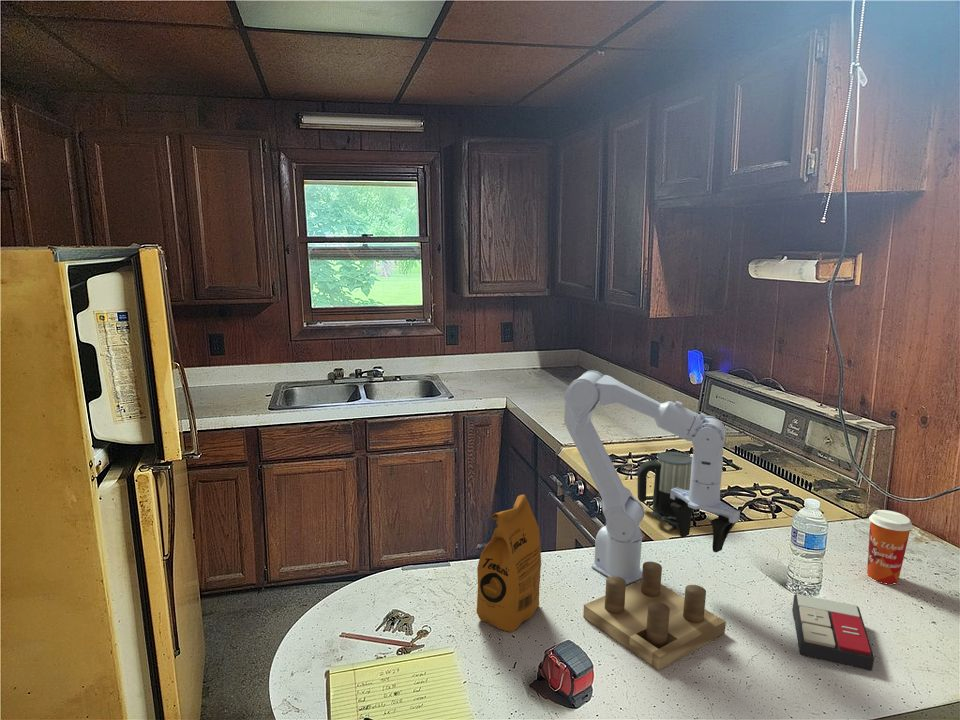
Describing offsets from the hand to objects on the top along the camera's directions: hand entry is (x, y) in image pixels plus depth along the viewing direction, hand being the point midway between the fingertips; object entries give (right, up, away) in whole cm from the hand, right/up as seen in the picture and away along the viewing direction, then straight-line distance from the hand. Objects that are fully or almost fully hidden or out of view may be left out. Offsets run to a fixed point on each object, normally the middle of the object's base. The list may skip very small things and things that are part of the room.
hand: (700, 542), depth 127 cm
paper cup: (+41, -10, +7) cm, 43 cm away
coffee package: (-39, -12, -6) cm, 41 cm away
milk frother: (+5, -4, +35) cm, 36 cm away
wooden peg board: (-12, -12, -10) cm, 20 cm away
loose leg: (-14, -14, -17) cm, 26 cm away
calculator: (+19, -14, -13) cm, 27 cm away
